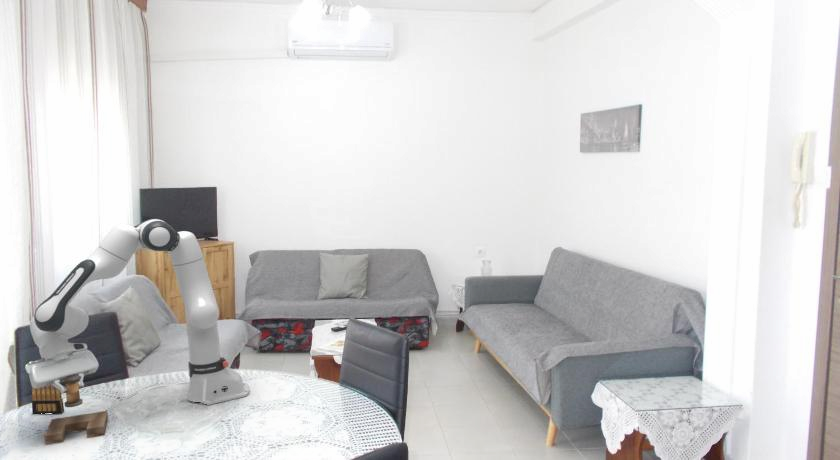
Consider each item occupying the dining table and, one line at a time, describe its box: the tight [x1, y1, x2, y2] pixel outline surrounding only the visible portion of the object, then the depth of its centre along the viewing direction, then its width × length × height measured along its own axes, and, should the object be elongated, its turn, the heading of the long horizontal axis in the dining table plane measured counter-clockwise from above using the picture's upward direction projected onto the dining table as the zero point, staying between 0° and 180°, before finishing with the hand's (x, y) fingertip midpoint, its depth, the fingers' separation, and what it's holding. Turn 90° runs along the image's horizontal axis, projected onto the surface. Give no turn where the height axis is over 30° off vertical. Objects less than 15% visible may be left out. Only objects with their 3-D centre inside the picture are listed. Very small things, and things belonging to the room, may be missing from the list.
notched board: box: [44, 410, 109, 446], centre depth 210 cm, size 17×14×3 cm
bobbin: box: [63, 375, 84, 408], centre depth 205 cm, size 5×5×9 cm
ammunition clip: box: [31, 384, 65, 415], centre depth 225 cm, size 11×2×12 cm, turn 88°
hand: (73, 389), depth 204 cm, fingers closed on bobbin, 4 cm apart
